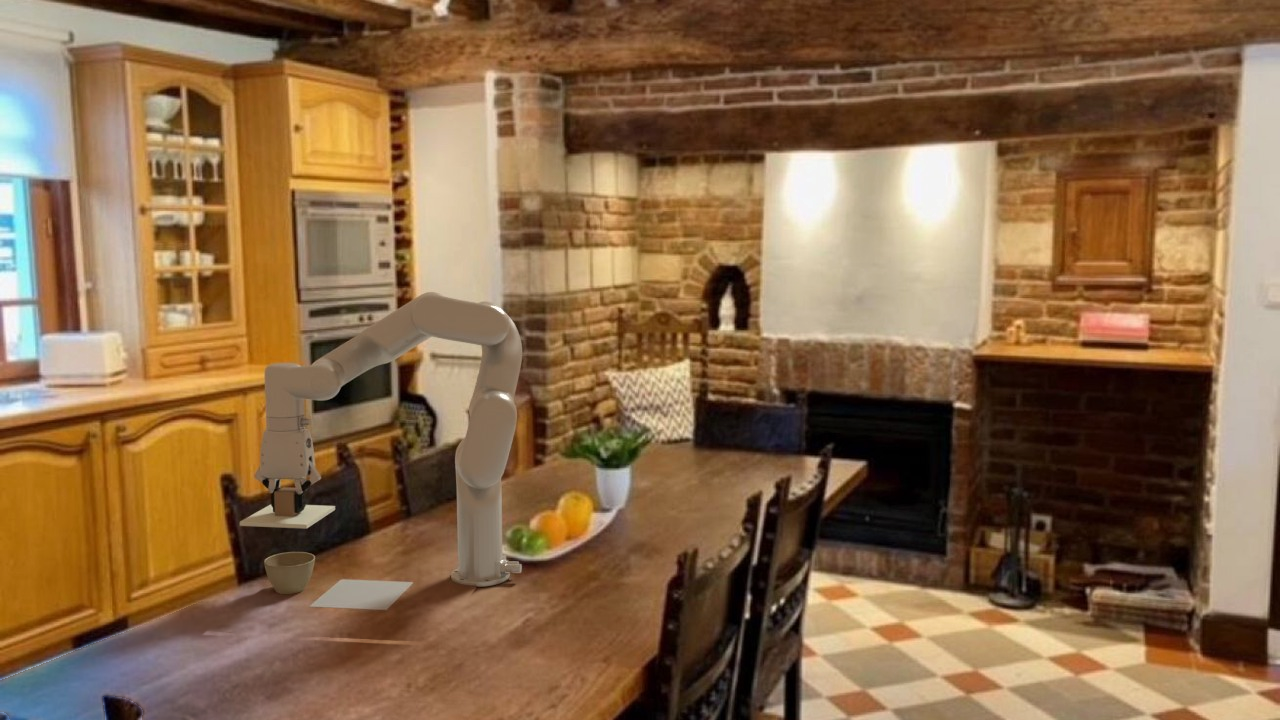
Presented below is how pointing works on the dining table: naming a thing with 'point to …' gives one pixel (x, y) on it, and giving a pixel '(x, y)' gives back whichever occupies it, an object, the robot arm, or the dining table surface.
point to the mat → (362, 594)
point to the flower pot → (289, 571)
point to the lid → (287, 513)
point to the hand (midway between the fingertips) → (288, 510)
